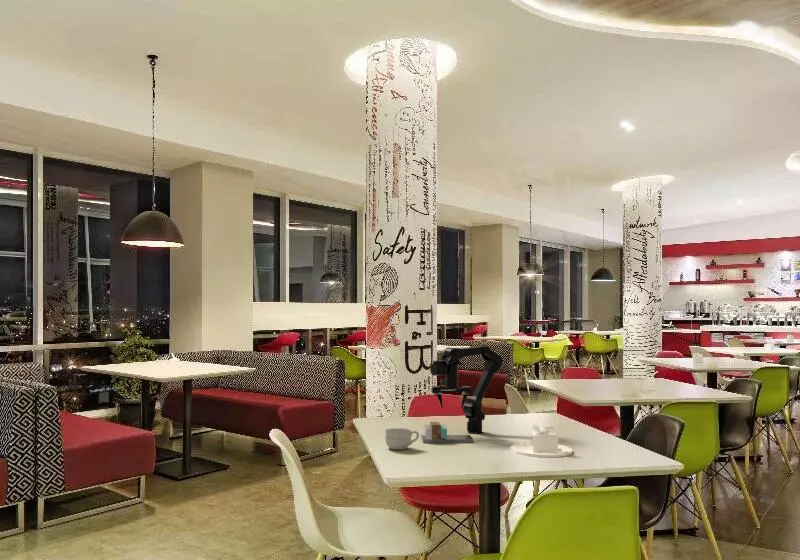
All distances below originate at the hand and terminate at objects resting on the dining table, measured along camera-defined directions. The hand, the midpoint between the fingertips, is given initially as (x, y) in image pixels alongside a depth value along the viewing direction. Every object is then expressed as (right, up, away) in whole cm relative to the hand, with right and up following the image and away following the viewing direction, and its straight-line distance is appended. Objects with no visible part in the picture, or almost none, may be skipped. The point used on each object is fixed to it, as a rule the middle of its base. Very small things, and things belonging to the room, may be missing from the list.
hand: (451, 408), depth 299 cm
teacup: (-23, -10, -33) cm, 42 cm away
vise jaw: (-5, -9, -15) cm, 18 cm away
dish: (+34, -11, -35) cm, 50 cm away
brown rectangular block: (-8, -10, -15) cm, 20 cm away
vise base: (-3, -11, -15) cm, 19 cm away
